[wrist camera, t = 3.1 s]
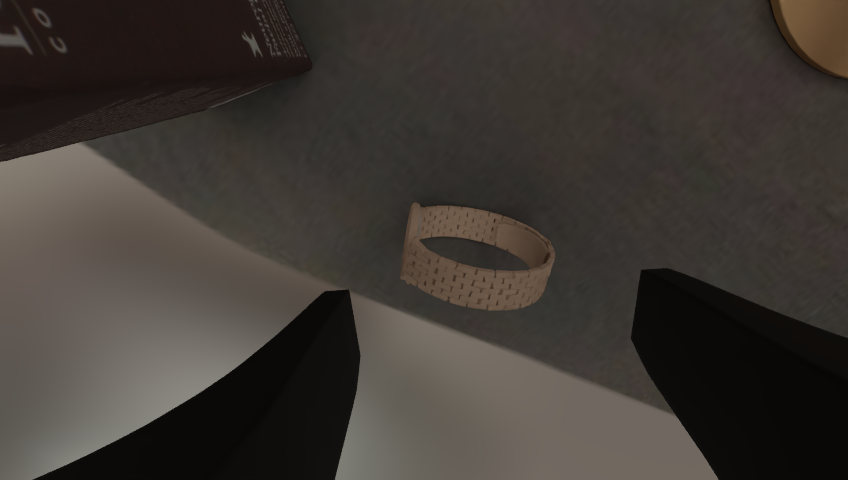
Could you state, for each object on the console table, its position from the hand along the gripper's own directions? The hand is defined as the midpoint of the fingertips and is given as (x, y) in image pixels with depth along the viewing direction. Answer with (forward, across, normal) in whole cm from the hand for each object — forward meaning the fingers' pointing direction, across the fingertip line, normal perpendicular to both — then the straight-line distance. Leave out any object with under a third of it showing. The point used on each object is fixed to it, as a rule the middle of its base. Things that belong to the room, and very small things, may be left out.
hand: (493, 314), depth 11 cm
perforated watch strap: (+6, 0, 0) cm, 6 cm away
